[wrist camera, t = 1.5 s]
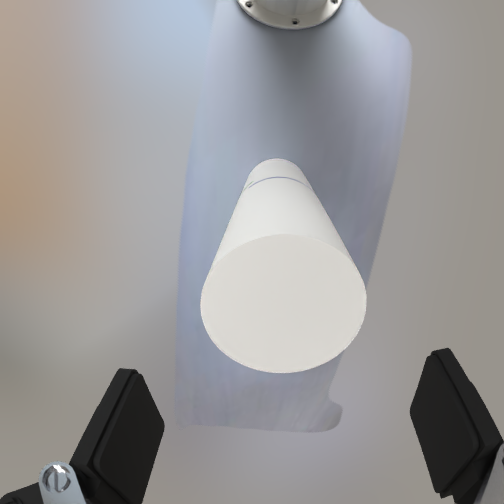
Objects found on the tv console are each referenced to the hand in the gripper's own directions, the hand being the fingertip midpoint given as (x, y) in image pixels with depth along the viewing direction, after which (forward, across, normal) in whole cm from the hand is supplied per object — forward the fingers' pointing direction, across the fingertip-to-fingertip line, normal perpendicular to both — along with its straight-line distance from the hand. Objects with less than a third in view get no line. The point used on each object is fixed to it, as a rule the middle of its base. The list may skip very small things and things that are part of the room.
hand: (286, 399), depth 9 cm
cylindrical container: (+30, 0, -1) cm, 30 cm away
